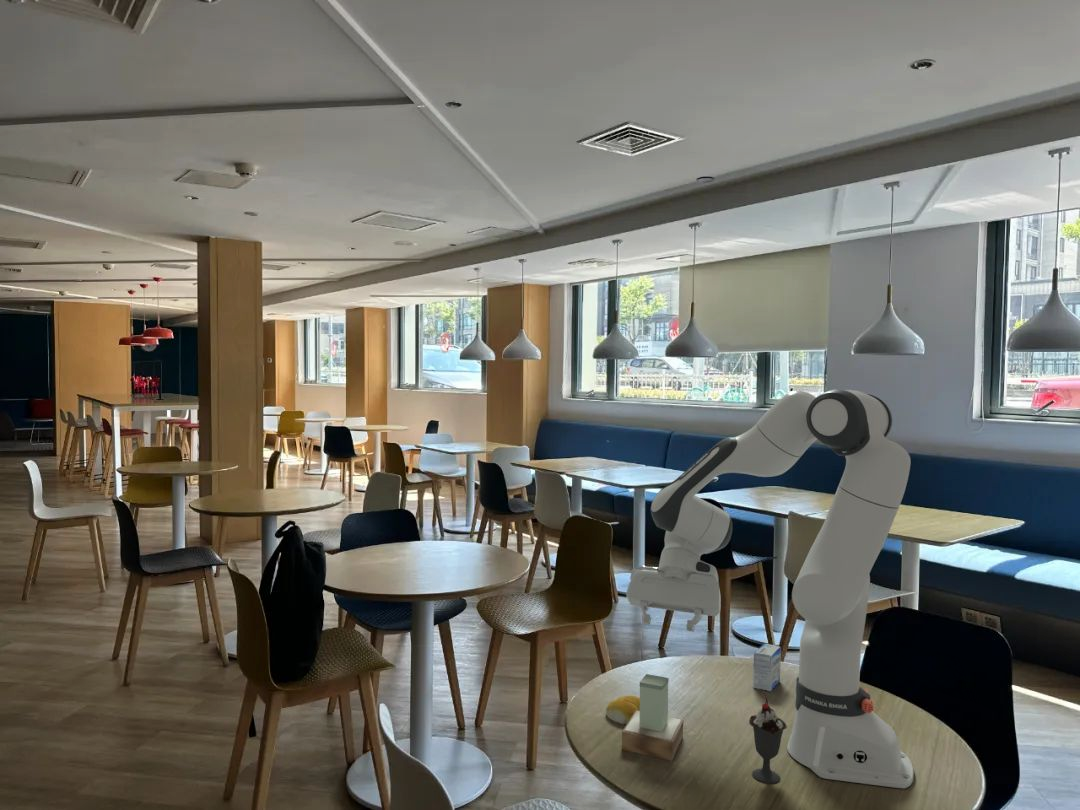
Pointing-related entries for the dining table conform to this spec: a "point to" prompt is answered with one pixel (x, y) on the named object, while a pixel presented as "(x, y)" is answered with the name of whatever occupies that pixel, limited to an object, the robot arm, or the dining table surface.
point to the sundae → (767, 741)
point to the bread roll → (623, 709)
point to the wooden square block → (652, 738)
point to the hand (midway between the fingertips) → (667, 626)
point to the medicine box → (766, 667)
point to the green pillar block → (653, 702)
